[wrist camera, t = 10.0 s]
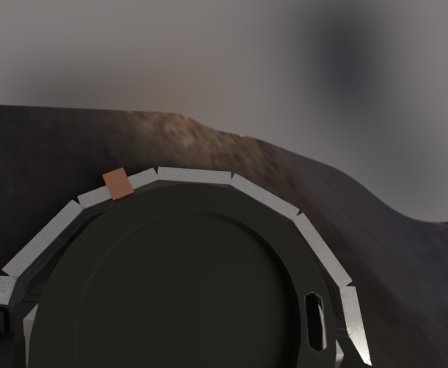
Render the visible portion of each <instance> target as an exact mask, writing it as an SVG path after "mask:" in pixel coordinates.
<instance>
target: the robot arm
mask: <svg viewBox="0 0 448 368" xmlns="http://www.w3.org/2000/svg"><path fill="white" fill-rule="evenodd" d="M47 282H48V280H46V281H44V282H42V283H41V284H39V285H37V286H36V287H35V288H34V289H33V290H31V291H30V292H29V293H28V295H26V296H25V297H24V298H23V299H22V301H21V302H19V303H18V304H17V305H16V306H15V307H14V308H12V307H11V306H9V305H5V304H0V368H28V357H29V342H30V334H31V330H32V326H33V322H34V318H35V314H36V310H37V306H38V303H39V299H40V297H41V295H42V293H43V291H44V288H45V286H46V284H47ZM318 305H319V304H318ZM319 310H320V315H321V320H322V326H323V349H324V348H326V338H325V329H324V320H323V311H322V310H321V308H320V306H319ZM334 318H335V326H336V351H337V355H336V363H335V368H374V367H372V366H370V365H369V364H367V363H365V362H364V361H363V359H362V357H361V355H360V354H359V352H358V350H357V348H356V347H355V345H354V343H353V341H352V340H351V338H350V336H349V334H348V333H347V331H346V330H345V327H344V326H343V324H342V322H341V320H340V319H339V318H338V317H336V316H335V315H334Z"/></svg>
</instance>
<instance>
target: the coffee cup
mask: <svg viewBox="0 0 448 368" xmlns="http://www.w3.org/2000/svg"><path fill="white" fill-rule="evenodd" d="M316 295H318V296H319V297H321V301H322V311H323V320H324V329H325V338H326V348H324V349H323V326H322V320H321V315H320V310H319V305H318V299H317V297H316ZM336 355H337V351H336V326H335V318H334V313H333V309H332V304H331V299H330V294H329V291H328V289H327V286H326V283H325V281H324V278H323V276H322V273H321V271H320V268H319V266H318V264H317V262H316V261H315V259H314V257H313V256H312V254H311V252H310V251H309V249H308V247H307V246H306V244H305V243H304V241H303V240H302V239H301V238H300V237H299V236H298V234H297V233H296V232H295V231H294V230H293V228H292V227H291V226H290V225H289V224H288V223H287V222H286V221H285V220H283V219H282V218H281V217H280V216H279V215H277V214H276V213H275V212H274V211H273V210H271V209H270V208H269V207H267V206H265V205H264V204H262V203H260V202H258V201H257V200H255V199H253V198H252V197H250V196H247V195H245V194H242V193H239V192H237V191H234V190H231V189H229V188H224V187H219V186H214V185H209V184H185V183H182V184H175V185H169V186H162V187H157V188H154V189H151V190H148V191H145V192H142V193H139V194H136V195H134V196H132V197H130V198H128V199H126V200H124V201H122V202H120V203H118V204H116V205H115V206H113V207H111V208H110V209H109V210H107V211H106V212H105V213H103V214H102V215H101V216H99V217H98V218H97V219H95V220H94V221H93V222H91V223H90V224H89V225H88V226H87V227H86V228H85V229H84V230H83V231H82V233H81V234H80V235H79V236H78V237H77V238H76V239H75V240H74V241H73V242H72V243H71V244H70V245H69V247H68V248H67V250H66V251H65V253H64V254H63V256H62V257H61V259H60V260H59V262H58V263H57V265H56V266H55V268H54V269H53V271H52V273H51V275H50V277H49V280H48V282H47V284H46V286H45V288H44V291H43V293H42V295H41V297H40V299H39V303H38V306H37V310H36V314H35V318H34V322H33V326H32V330H31V334H30V342H29V357H28V368H335V363H336Z"/></svg>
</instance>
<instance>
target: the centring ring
mask: <svg viewBox="0 0 448 368" xmlns="http://www.w3.org/2000/svg"><path fill="white" fill-rule="evenodd" d="M102 176H103V178H104V180H105V183H106V186H103V187H101V188H98V189H96V190H93V191H90V192H88V193H85V194H82V195H80V196H77V197H78V199H79V202H80V204H78V203H76V202H75V201H73V200H71V201H70V202H69V203H68V204H67V205H66V206H65V207H64V208H63V209H62V210H61V211H60V212H59V213H58V214H57V215H56V216H55V217H54V218H53V219H52V220H51V221H50V222H49V223H48V224H47V225H46V226H45V227H44V228H43V229H42V230H41V231H40V232H39V233H38V234H37V235H36V236H35V237H34V238H33V239H32V240H31V241H30V242H29V243H28V244H27V245H26V246H25V247H24V248H23V249H22V250H21V251H20V252H19V253H18V254H17V255H16V256H15V257H14V258H13V259H12V260H11V261H10V262H9V263H8V264H7V265H6V266H5V267H4V268H3V269H2V270H3V271H4V272H6V273H7V274H8V275H10V276H0V304H5V305H9V306H11V307H12V308H14V307H15V306H16V305H17V304H18V303H19V302H21V301H22V299H23V298H24V296H25V293H26V290H27V287H28V283H29V282H30V281H31V280H32V279H33V278H34V277H35V276H36V275H37V274H38V272H39V271H40V270H41V269H42V268H43V267H44V266H45V265H46V264H47V263H48V262H49V261H50V260H51V259H52V257H53V256H54V255H55V254H56V253H57V252H58V251H59V250H60V249H61V248H62V247H63V246H64V245H65V244H66V242H67V241H68V240H69V239H70V238H71V237H72V236H73V235H74V234H75V233H76V232H77V231H78V230H79V229H80V227H81V226H82V225H83V224H84V223H85V222H86V221H87V220H88V219H89V218H90V217H92V216H95V215H97V214H99V213H102V212H104V211H107V210H109V209H110V208H111V207H113V206H115V205H116V204H118V203H120V202H122V201H124V200H126V199H128V198H130V197H132V196H134V195H136V194H139V193H142V192H145V191H148V190H151V189H154V188H157V187H162V186H169V185H175V184H182V183H185V184H209V185H214V186H219V187H224V188H229V189H231V190H234V191H237V192H239V193H242V194H245V195H247V196H250V197H252V198H253V199H255V200H257V201H258V202H260V203H262V204H264V205H265V206H267V207H269V208H270V209H271V210H273V211H274V212H275V213H276V214H277V215H279V216H280V217H281V218H282V219H283V220H285V221H286V222H287V223H288V224H289V225H290V226H291V227H292V228H293V230H294V231H295V232H296V233H297V234H298V236H299V237H300V238H301V239H302V240H303V241H304V243H305V244H306V246H307V247H308V249H309V251H310V252H311V254H312V256H313V257H314V259H315V261H316V262H317V264H318V266H319V268H320V271H321V273H322V276H323V278H324V281H325V283H326V286H327V288H328V290H329V291H330V297H331V303H332V309H333V313H334V315H335V316H336V317H338V318H339V319H340V320H341V322H342V324H343V326H344V327H345V330H346V331H347V333H348V334H349V336H350V338H351V340H352V341H353V343H354V345H355V347H356V348H357V350H358V352H359V354H360V355H361V357H362V359H363V361H364V362H365V363H367V364H369V365H370V366H371V361H370V356H369V351H368V347H367V342H366V337H365V332H364V327H363V323H362V318H361V313H360V308H359V304H358V299H357V294H356V289H355V287H345V286H346V285H347V284H349V283H350V282H352V280H351V278H350V277H349V276H348V274H347V273H346V271H345V270H344V269H343V267H342V266H341V264H340V263H339V262H338V260H337V259H336V258H335V256H334V255H333V253H332V252H331V251H330V249H329V248H328V246H327V245H326V244H325V242H324V241H323V240H322V238H321V237H320V235H319V234H318V233H317V231H316V230H315V228H314V227H313V226H312V224H311V223H310V221H309V220H308V219H307V217H306V216H305V215H304V213H302V214H300V215H299V216H297V217H296V215H297V213H298V211H299V209H298V208H296V207H294V206H292V205H291V204H289V203H287V202H285V201H284V200H282V199H280V198H278V197H277V196H275V195H273V194H271V193H269V192H268V191H266V190H264V189H262V188H261V187H259V186H257V185H255V184H253V183H252V182H250V181H248V180H246V179H245V178H243V177H241V176H239V175H237V174H236V173H235V175H234V176H233V178H232V179H231V172H224V171H210V170H196V169H182V168H168V167H158V174H156V172H155V170H154V168H151V169H148V170H146V171H143V172H140V173H138V174H135V175H132V176H130V177H127V175H126V173H125V171H124V169H123V168H120V169H117V170H114V171H112V172H109V173H106V174H103V175H102Z"/></svg>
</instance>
